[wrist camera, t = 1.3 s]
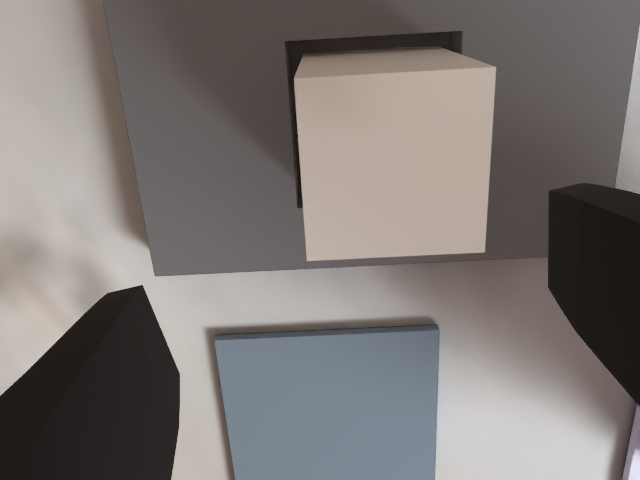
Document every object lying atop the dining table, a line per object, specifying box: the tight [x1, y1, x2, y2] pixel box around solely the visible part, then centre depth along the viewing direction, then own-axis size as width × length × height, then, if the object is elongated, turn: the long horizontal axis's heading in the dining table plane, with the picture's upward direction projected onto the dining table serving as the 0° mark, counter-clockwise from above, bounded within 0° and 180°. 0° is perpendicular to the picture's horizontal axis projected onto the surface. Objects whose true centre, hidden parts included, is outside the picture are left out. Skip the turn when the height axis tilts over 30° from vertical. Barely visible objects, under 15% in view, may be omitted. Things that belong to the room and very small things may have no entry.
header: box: [103, 0, 640, 276], centre depth 19 cm, size 16×10×2 cm, turn 93°
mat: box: [214, 325, 439, 480], centre depth 24 cm, size 9×9×1 cm
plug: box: [294, 46, 496, 261], centre depth 16 cm, size 4×4×7 cm
